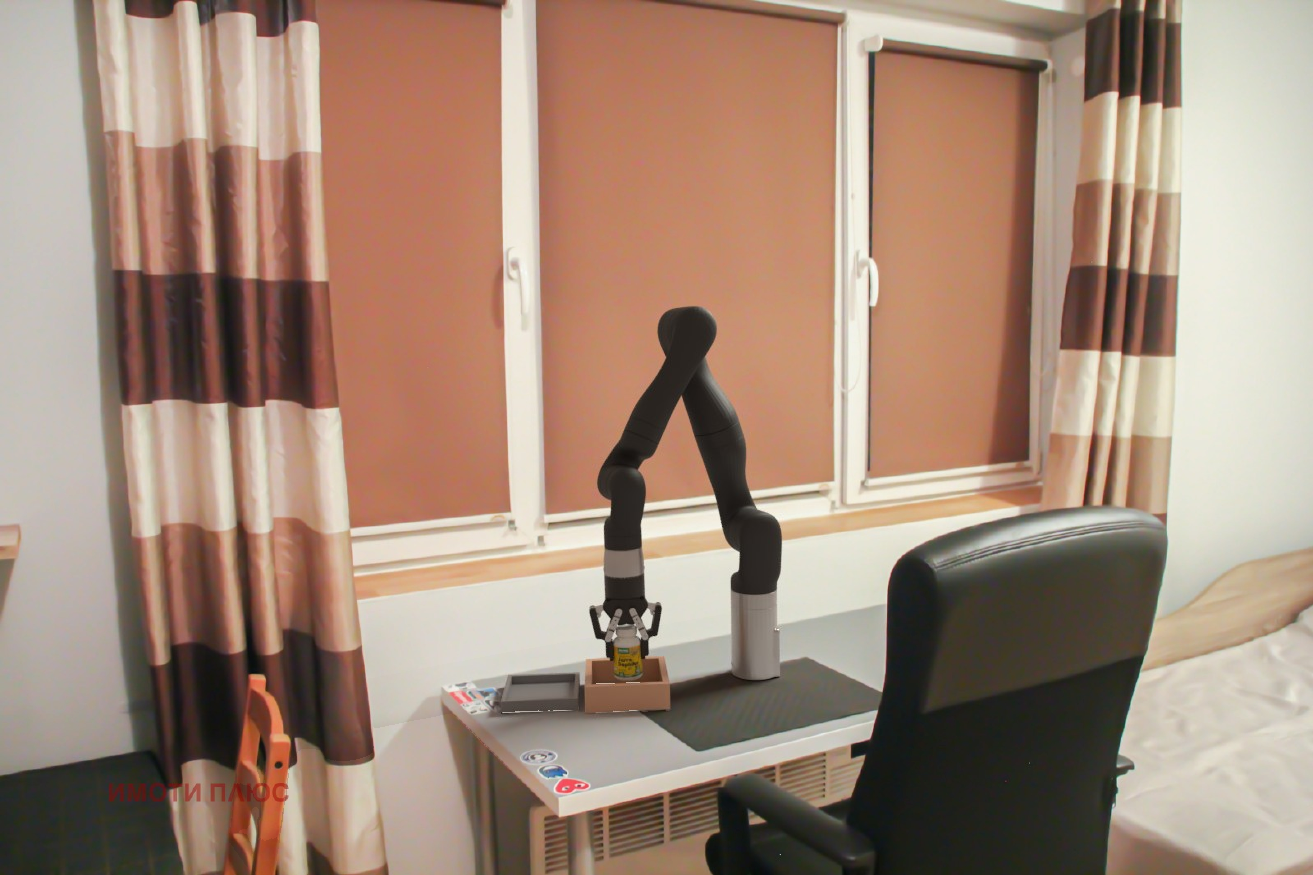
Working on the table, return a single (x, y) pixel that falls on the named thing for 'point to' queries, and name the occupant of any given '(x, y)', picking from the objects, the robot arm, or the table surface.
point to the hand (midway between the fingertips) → (627, 658)
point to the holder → (626, 687)
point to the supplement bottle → (627, 653)
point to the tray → (541, 692)
